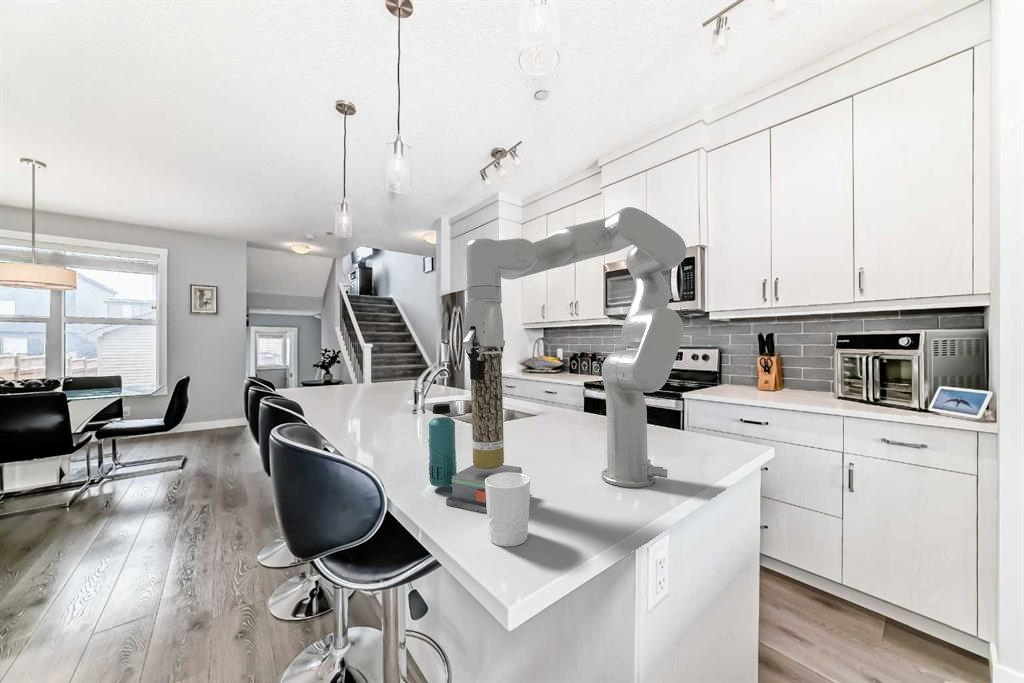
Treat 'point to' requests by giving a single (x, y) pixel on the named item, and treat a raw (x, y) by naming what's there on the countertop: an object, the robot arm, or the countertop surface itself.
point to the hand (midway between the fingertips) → (486, 377)
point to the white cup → (507, 508)
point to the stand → (474, 486)
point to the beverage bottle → (442, 447)
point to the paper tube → (488, 414)
